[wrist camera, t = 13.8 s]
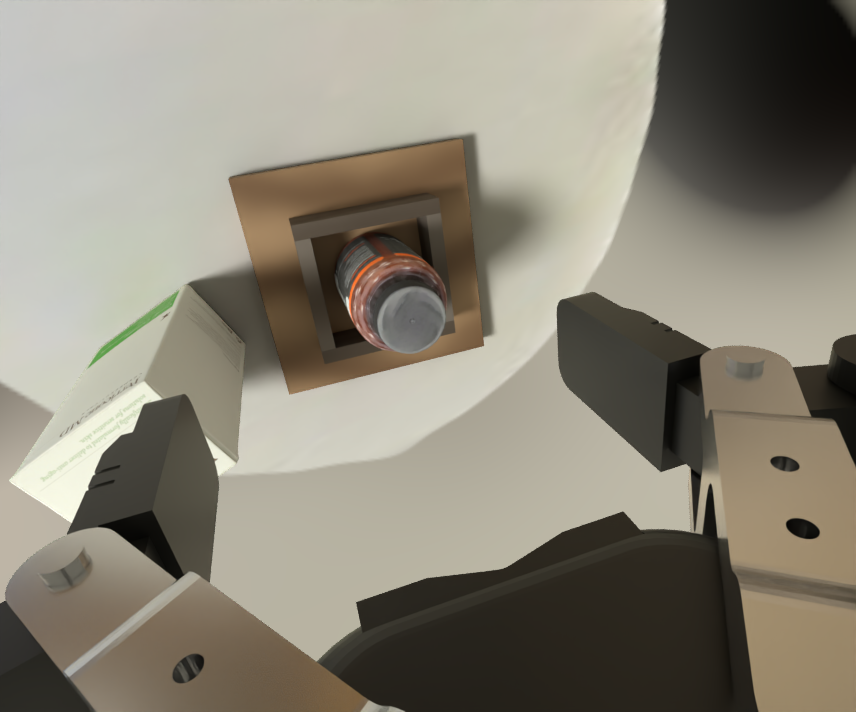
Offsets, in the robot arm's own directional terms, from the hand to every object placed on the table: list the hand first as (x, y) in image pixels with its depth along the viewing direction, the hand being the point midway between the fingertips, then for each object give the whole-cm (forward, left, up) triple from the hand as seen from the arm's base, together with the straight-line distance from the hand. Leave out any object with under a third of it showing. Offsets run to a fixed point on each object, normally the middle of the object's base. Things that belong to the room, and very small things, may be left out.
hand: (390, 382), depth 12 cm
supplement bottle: (+6, +4, -29) cm, 29 cm away
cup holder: (+6, +4, -30) cm, 31 cm away
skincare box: (+9, -11, -30) cm, 33 cm away
